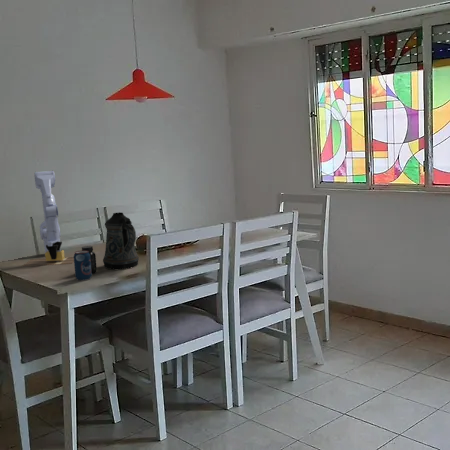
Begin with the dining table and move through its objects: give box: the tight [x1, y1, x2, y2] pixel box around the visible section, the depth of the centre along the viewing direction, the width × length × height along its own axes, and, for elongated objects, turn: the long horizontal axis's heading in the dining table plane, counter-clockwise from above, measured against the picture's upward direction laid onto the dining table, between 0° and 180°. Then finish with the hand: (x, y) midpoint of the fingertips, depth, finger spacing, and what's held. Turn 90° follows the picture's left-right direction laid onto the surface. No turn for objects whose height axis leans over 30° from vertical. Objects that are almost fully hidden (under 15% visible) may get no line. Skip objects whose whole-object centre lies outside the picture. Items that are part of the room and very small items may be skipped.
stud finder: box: [44, 249, 65, 261], centre depth 298 cm, size 4×8×4 cm, turn 90°
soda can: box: [73, 249, 93, 281], centre depth 263 cm, size 7×7×12 cm
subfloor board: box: [21, 256, 74, 267], centre depth 299 cm, size 16×24×1 cm, turn 90°
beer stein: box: [102, 212, 140, 271], centre depth 283 cm, size 16×19×25 cm
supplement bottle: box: [81, 245, 98, 275], centre depth 274 cm, size 7×7×12 cm
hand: (55, 258), depth 298 cm, fingers closed on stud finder, 4 cm apart
